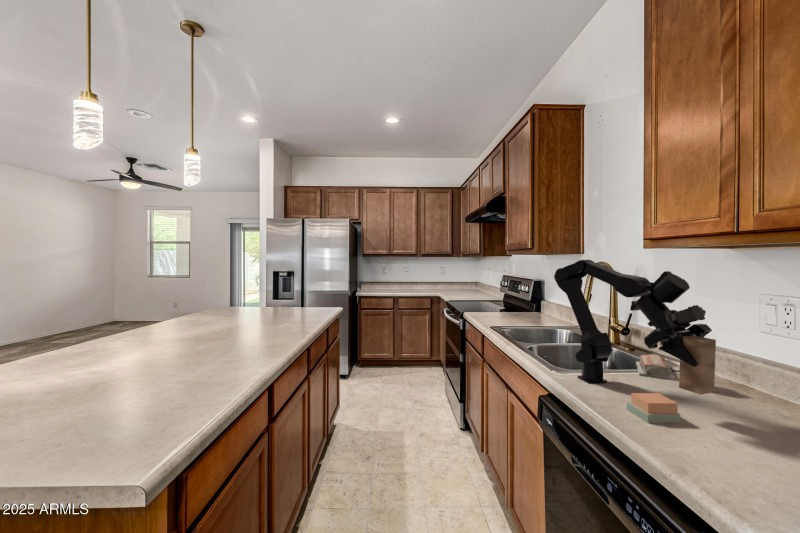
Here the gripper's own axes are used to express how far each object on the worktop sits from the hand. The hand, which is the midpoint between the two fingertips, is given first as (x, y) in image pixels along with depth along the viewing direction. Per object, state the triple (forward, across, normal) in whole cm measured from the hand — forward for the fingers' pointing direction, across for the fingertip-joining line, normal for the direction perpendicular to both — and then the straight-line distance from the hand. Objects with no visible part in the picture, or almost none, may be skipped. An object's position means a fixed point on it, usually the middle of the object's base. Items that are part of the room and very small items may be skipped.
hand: (703, 364), depth 91 cm
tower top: (+4, -9, +12) cm, 16 cm away
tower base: (+6, -10, +14) cm, 18 cm away
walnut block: (+4, 0, +6) cm, 7 cm away
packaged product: (-12, +29, +33) cm, 45 cm away
